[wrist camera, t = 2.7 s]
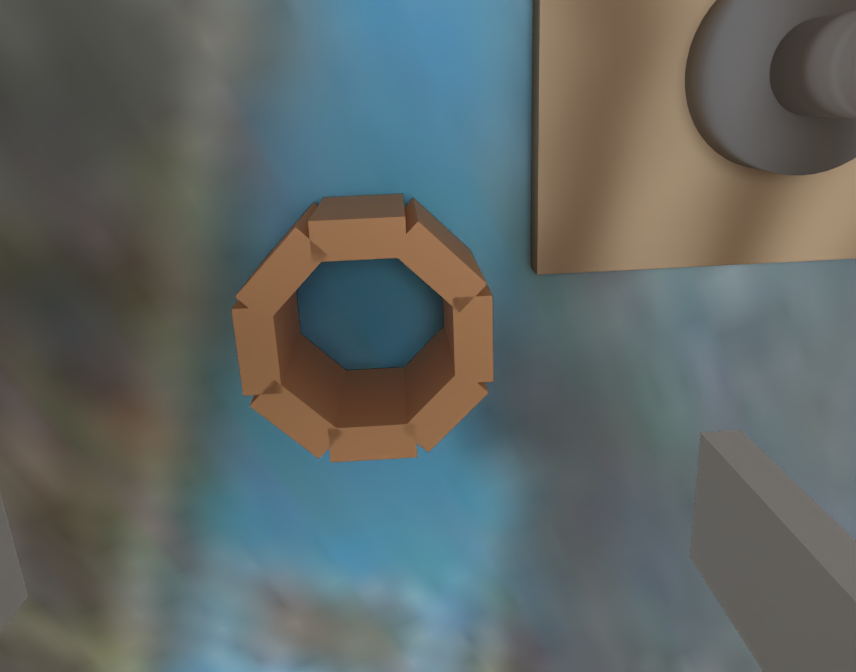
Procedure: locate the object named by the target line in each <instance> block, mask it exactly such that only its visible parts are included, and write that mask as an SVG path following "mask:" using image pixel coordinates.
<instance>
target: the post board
mask: <svg viewBox="0 0 856 672" xmlns="http://www.w3.org/2000/svg"><path fill="white" fill-rule="evenodd" d="M853 258H856V0H533V48H532V193H531V267H532V269H533V270H534V271H535V272H536V274H537V275H540V274H559V273H579V272H599V271H618V270H638V269H657V268H677V267H697V266H716V265H736V264H755V263H775V262H795V261H814V260H834V259H853Z"/></svg>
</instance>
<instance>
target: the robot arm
mask: <svg viewBox="0 0 856 672" xmlns="http://www.w3.org/2000/svg"><path fill="white" fill-rule="evenodd" d="M690 558H691V560H692V561H693V563H694V564H695V566H696V567H697V569H698V571H699V572H700V574H701V575H702V577H703V578H704V580H705V581H706V583H707V585H708V586H709V588H710V589H711V591H712V592H713V594H714V595H715V597H716V599H717V600H718V602H719V603H720V605H721V606H722V608H723V609H724V611H725V613H726V614H727V616H728V617H729V619H730V620H731V622H732V623H733V625H734V627H735V628H736V630H737V631H738V633H739V634H740V636H741V637H742V639H743V641H744V642H745V644H746V645H747V647H748V648H749V650H750V651H751V653H752V655H753V656H754V658H755V659H756V661H757V662H758V664H759V666H760V667H761V669H762V670H763V672H856V540H855V539H854V538H853V537H852V536H850V535H849V534H848V533H847V532H846V531H845V530H844V529H843V528H842V527H841V526H840V525H839V524H838V523H837V522H836V521H835V520H834V519H833V518H832V517H831V516H830V515H829V514H828V513H826V512H825V511H824V510H823V509H822V508H821V507H820V506H819V505H818V504H817V503H816V502H815V501H814V500H813V499H812V498H811V497H810V496H809V495H808V494H807V493H806V492H805V491H803V490H802V489H801V488H800V487H799V486H798V485H797V484H796V483H795V482H794V481H793V480H792V479H791V478H790V477H789V476H788V475H787V474H786V473H785V472H784V471H783V470H782V469H781V468H779V467H778V466H777V465H776V464H775V463H774V462H773V461H772V460H771V459H770V458H769V457H768V456H767V455H766V454H765V453H764V452H763V451H762V450H761V449H760V448H759V447H758V446H757V445H755V444H754V443H753V442H752V441H751V440H750V439H749V438H748V437H747V436H746V435H745V434H744V433H743V432H742V431H741V430H737V431H719V432H701V434H700V445H699V457H698V468H697V479H696V491H695V502H694V513H693V525H692V536H691V547H690ZM27 597H28V595H27V591H26V587H25V584H24V580H23V576H22V572H21V568H20V564H19V561H18V557H17V553H16V549H15V545H14V541H13V538H12V534H11V530H10V526H9V522H8V519H7V515H6V511H5V507H4V503H3V499H2V496H1V492H0V634H1V632H2V631H3V630H4V628H5V627H6V626H7V624H8V623H9V622H10V620H11V619H12V618H13V616H14V615H15V614H16V612H17V611H18V610H19V608H20V607H21V606H22V604H23V603H24V601H25V600H26V599H27Z"/></svg>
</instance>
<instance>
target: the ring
mask: <svg viewBox="0 0 856 672" xmlns="http://www.w3.org/2000/svg"><path fill="white" fill-rule="evenodd" d="M385 258H398V259H400V260H401V261H402V262H403V263H404V264H405V265H406V266H407V267H409V268H410V269H411V270H412V271H413V272H414V273H415V274H416V275H418V276H419V277H420V278H421V279H422V280H423V281H424V282H426V283H427V284H428V285H429V286H430V287H431V288H432V289H433V290H435V291H436V292H437V293H438V294H439V295H440V296H441V297H443V312H444V326H443V327H442V328H441V329H440V331H439V332H438V333H437V334H436V335H435V336H434V337H433V338H432V339H431V340H430V341H429V342H428V343H427V344H426V345H425V346H424V347H423V348H422V349H421V350H420V351H419V352H418V353H417V354H416V355H415V356H414V358H413V359H412V360H411V361H410V362H409V363H408V364H407V365H406V366H405V367H397V368H379V369H360V370H345V369H344V368H343V367H341V366H340V365H339V364H338V363H337V362H335V361H334V360H333V359H332V358H330V357H329V356H328V355H327V354H325V353H324V352H323V351H322V350H320V349H319V348H318V347H317V346H316V345H314V344H313V343H312V342H311V341H309V340H308V339H307V338H306V337H304V336H303V335H302V334H301V331H300V322H299V312H298V303H297V293H296V290H297V289H298V287H299V286H300V285H301V284H302V283H303V282H304V281H305V280H306V278H307V277H308V276H309V275H310V274H311V273H312V272H313V271H314V269H315V268H316V267H317V266H318V265H319V264H320V263H321V262H325V261H345V260H365V259H385ZM235 297H236V298H237V299H238V301H237V302H236V304H235V305H234V306H233V308H232V317H233V324H234V331H235V339H236V346H237V353H238V361H239V368H240V376H241V383H242V390H243V396H244V395H254V398H253V400H252V402H251V404H250V407H251V408H253V409H254V410H255V411H257V412H258V413H259V414H261V415H262V416H263V417H265V418H266V419H267V420H269V421H270V422H271V423H273V424H274V425H275V426H276V427H278V428H279V429H280V430H282V431H283V432H284V433H286V434H287V435H288V436H290V437H291V438H292V439H294V440H295V441H296V442H298V443H299V444H300V445H301V446H303V447H304V448H305V449H307V450H308V451H309V452H311V453H312V454H313V455H315V456H316V457H317V458H320V457H321V456H322V455H323V454H324V453H325V452H326V451H327V450H328V449H330V459H331V462H344V461H361V460H378V459H395V458H412V457H417V443H418V444H419V445H420V446H421V447H423V448H424V449H425V450H426V451H428V452H429V451H430V450H431V449H432V448H433V447H434V446H435V445H436V444H437V443H438V442H439V441H440V440H441V439H442V438H443V437H444V436H445V435H446V434H448V433H449V432H450V431H451V430H452V429H453V428H454V427H455V426H456V425H457V424H458V423H459V422H460V421H461V420H462V419H463V418H464V417H465V416H466V415H467V414H468V413H469V412H470V411H471V410H472V409H473V408H474V407H475V406H476V405H477V404H478V403H479V402H480V401H481V400H482V399H483V398H484V397H485V396H486V395H487V394H488V393H489V392H488V389H487V386H486V383H485V382H493V304H492V294H491V292H490V290H489V288H488V286H487V283H486V281H485V279H484V277H483V275H482V273H481V271H480V269H479V267H478V265H477V263H476V261H475V259H474V257H473V255H472V253H471V251H470V249H469V248H468V247H467V246H466V245H465V244H463V243H462V242H461V241H460V240H459V239H458V238H457V237H456V236H455V235H454V234H453V233H452V232H450V231H449V230H448V229H447V228H446V227H445V226H444V225H443V224H442V223H441V222H440V221H438V220H437V219H436V218H435V217H434V216H433V215H432V214H431V213H430V212H429V211H428V210H426V209H425V208H424V207H423V206H422V205H421V204H420V203H419V202H418V201H417V200H416V199H415V198H412V199H411V201H410V202H409V203H408V204H407V205H406V206H405V207H404V200H403V194H382V195H361V196H340V197H324V198H323V199H322V201H321V202H320V204H319V205H316V204H315V203H314V202H313V203H312V205H311V206H310V207H309V208H308V209H307V210H306V212H305V213H304V214H303V215H302V216H301V217H300V218H299V220H298V221H297V222H296V223H295V224H294V225H293V227H292V228H291V229H290V230H289V231H288V232H287V234H286V235H285V236H284V237H283V238H282V239H281V240H280V242H279V243H278V244H277V245H276V246H275V247H274V249H273V250H272V251H271V252H270V253H269V254H268V255H267V257H266V258H265V259H264V260H263V261H262V263H261V264H260V265H259V267H258V268H257V269H256V271H255V272H254V273H253V274H252V276H251V277H250V278H249V280H248V281H247V282H246V284H245V285H244V286H243V287H242V289H241V290H240V291H239V293H238V294H237V295H236V296H235Z"/></svg>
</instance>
